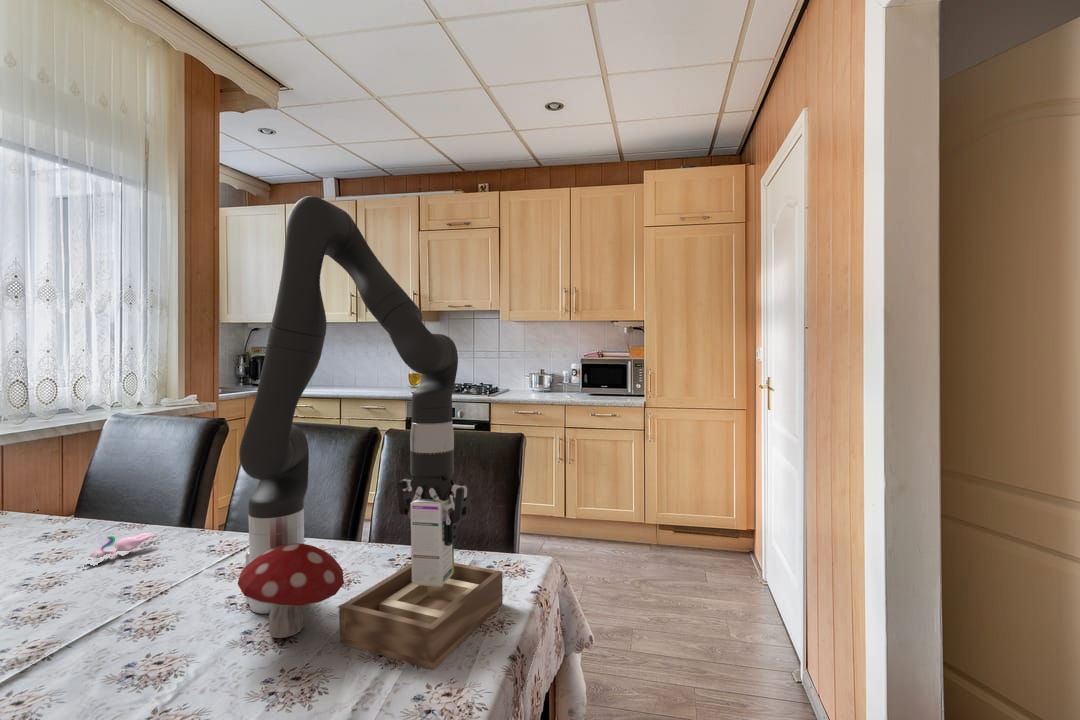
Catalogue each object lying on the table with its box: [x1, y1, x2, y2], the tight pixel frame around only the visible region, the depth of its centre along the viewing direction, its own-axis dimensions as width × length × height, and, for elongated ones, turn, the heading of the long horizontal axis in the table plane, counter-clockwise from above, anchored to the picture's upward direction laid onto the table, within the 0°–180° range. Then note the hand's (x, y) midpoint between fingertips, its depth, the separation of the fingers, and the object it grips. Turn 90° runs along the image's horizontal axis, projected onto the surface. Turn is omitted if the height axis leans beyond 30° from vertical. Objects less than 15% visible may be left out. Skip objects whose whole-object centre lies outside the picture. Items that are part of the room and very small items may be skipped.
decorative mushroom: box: [237, 543, 344, 639], centre depth 87 cm, size 16×16×15 cm
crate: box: [338, 562, 503, 671], centre depth 91 cm, size 18×22×6 cm
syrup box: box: [410, 494, 455, 587], centre depth 92 cm, size 6×6×14 cm
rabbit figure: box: [81, 532, 159, 560], centre depth 120 cm, size 6×6×15 cm
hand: (432, 541), depth 92 cm, fingers closed on syrup box, 6 cm apart
